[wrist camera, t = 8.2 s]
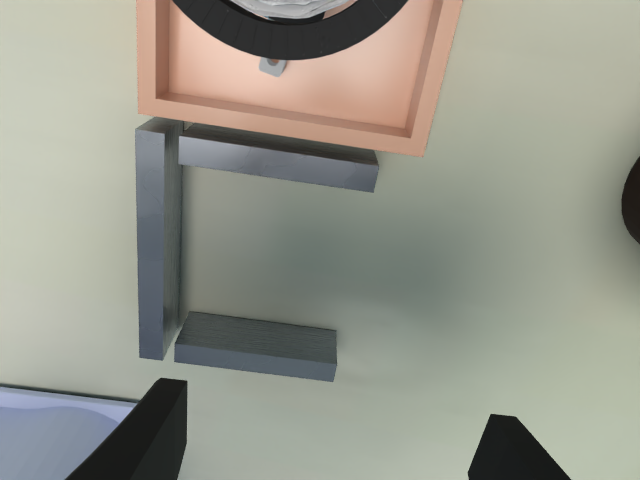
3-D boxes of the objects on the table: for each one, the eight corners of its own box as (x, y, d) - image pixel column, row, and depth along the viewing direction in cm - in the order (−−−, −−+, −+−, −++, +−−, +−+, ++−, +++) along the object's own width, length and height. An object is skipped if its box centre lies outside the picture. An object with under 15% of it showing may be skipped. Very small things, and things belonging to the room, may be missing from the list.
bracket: (157, 324, 23) (139, 357, 21) (157, 115, 18) (135, 129, 16) (332, 347, 23) (333, 381, 21) (373, 148, 19) (379, 166, 17)
